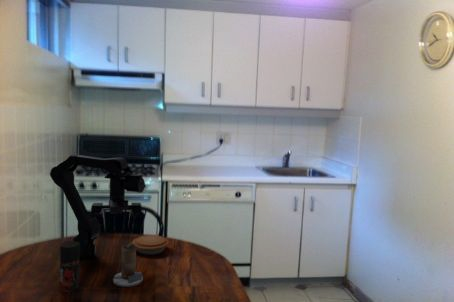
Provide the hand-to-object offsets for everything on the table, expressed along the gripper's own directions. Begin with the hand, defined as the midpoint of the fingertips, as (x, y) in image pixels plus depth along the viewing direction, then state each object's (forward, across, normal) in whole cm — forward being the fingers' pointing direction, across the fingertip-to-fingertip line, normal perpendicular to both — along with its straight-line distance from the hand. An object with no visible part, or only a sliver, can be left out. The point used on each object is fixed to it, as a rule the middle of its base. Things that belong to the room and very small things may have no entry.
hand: (116, 229), depth 150 cm
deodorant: (+13, -14, -21) cm, 28 cm away
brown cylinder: (+12, +5, -18) cm, 22 cm away
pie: (+13, +14, +11) cm, 22 cm away
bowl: (+13, +5, -18) cm, 23 cm away
